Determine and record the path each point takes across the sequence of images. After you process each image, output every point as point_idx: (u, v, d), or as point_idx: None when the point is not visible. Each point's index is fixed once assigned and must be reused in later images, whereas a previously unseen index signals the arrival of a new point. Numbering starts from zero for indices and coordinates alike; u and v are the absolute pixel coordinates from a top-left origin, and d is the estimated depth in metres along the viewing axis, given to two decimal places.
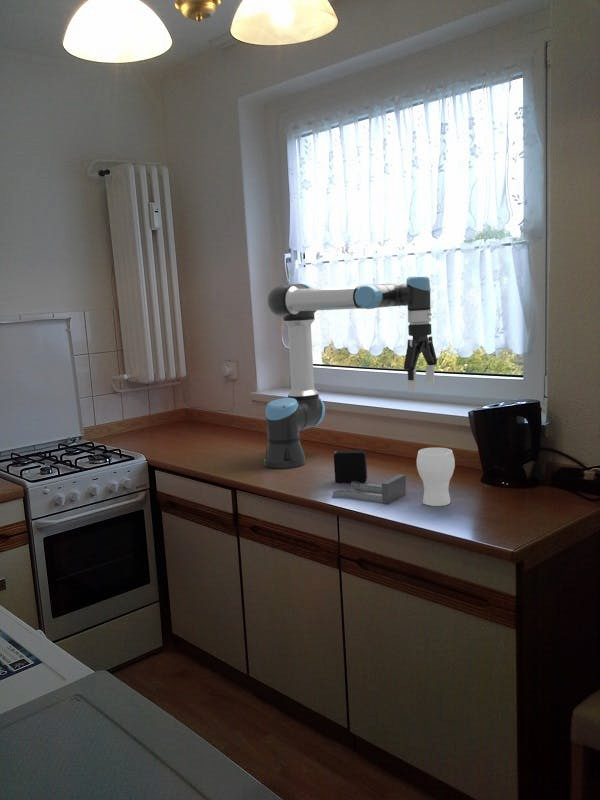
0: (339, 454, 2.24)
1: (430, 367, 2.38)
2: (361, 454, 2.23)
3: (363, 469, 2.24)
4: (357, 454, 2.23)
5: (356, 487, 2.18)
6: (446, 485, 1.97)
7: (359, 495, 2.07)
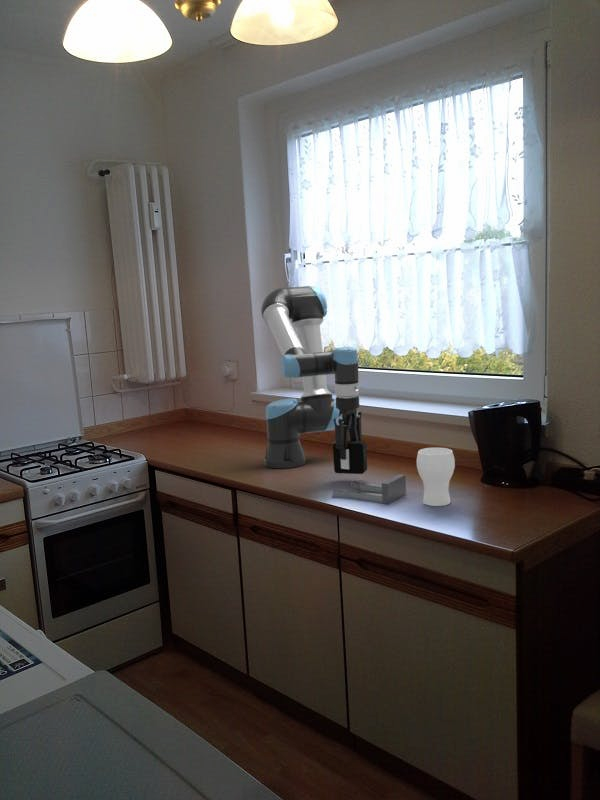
0: None
1: None
2: (359, 444, 2.23)
3: (361, 460, 2.23)
4: (355, 444, 2.23)
5: (356, 487, 2.18)
6: (446, 485, 1.97)
7: (359, 495, 2.07)
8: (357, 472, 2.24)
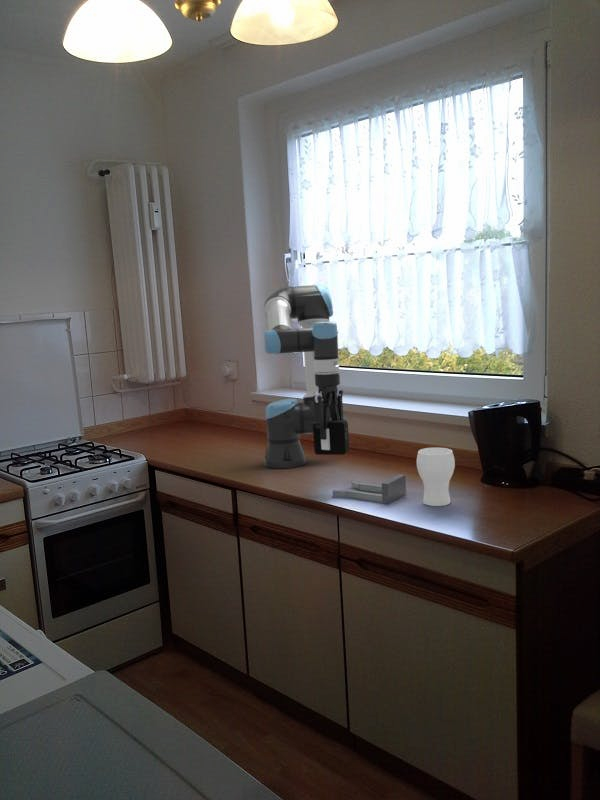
0: None
1: None
2: (340, 423, 2.12)
3: (342, 439, 2.12)
4: (336, 423, 2.12)
5: (356, 487, 2.18)
6: (446, 485, 1.97)
7: (359, 495, 2.07)
8: (338, 453, 2.13)
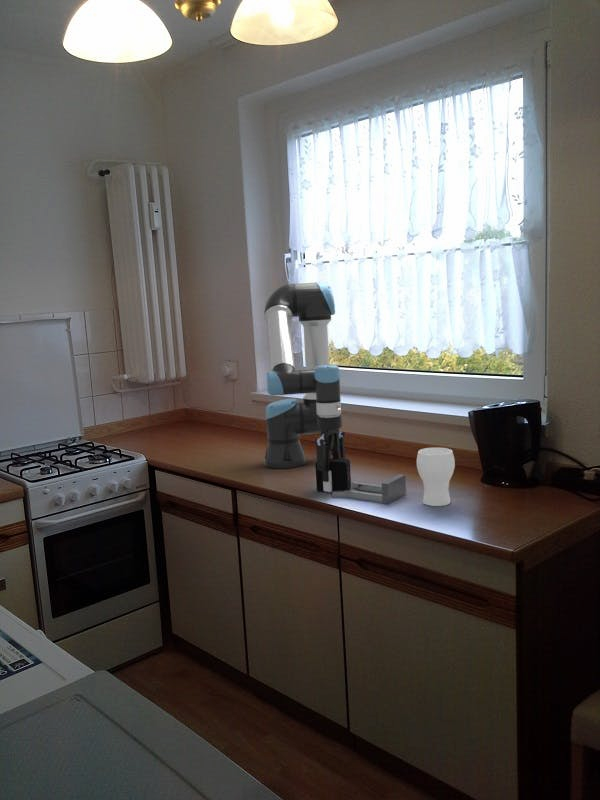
0: None
1: None
2: (343, 463, 2.13)
3: (345, 479, 2.14)
4: (339, 463, 2.14)
5: (356, 487, 2.18)
6: (446, 485, 1.97)
7: (359, 495, 2.07)
8: None
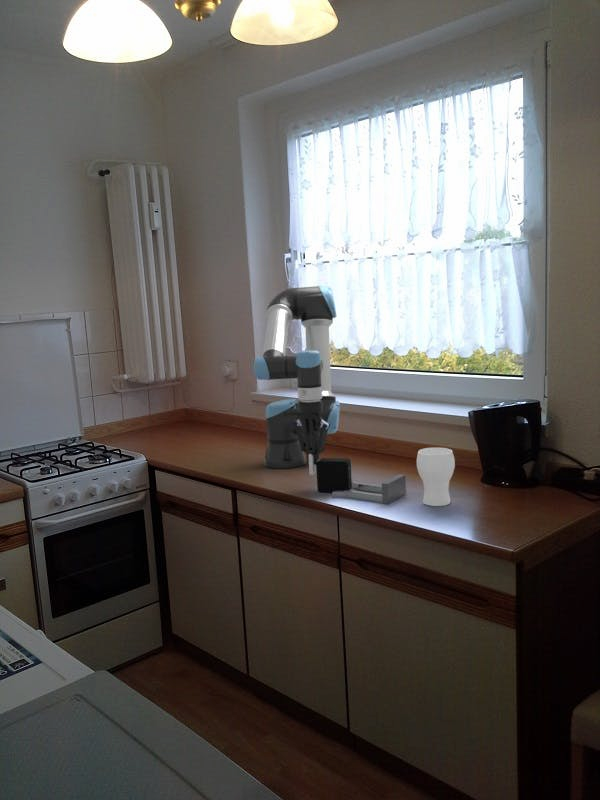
0: (321, 462, 2.15)
1: None
2: (344, 463, 2.13)
3: (346, 478, 2.13)
4: (340, 463, 2.13)
5: (356, 487, 2.18)
6: (446, 485, 1.97)
7: (359, 495, 2.07)
8: None
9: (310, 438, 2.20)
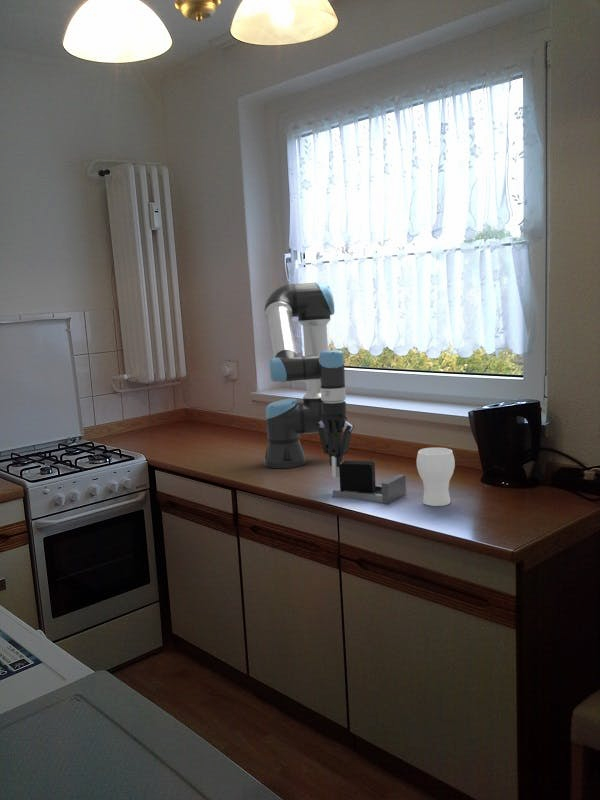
0: (345, 465, 2.10)
1: None
2: (368, 466, 2.08)
3: (370, 482, 2.08)
4: (363, 466, 2.08)
5: None
6: (446, 485, 1.97)
7: (359, 495, 2.07)
8: None
9: (333, 440, 2.15)
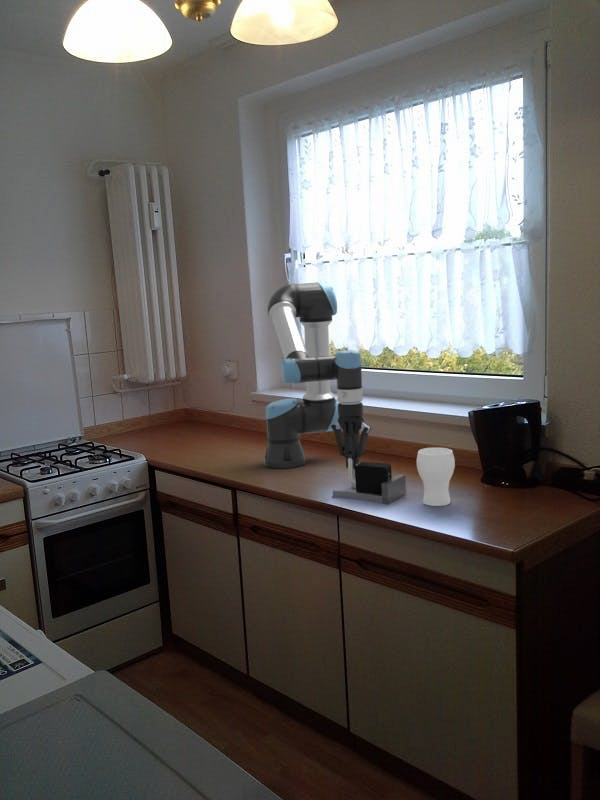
0: (360, 467, 2.07)
1: None
2: (382, 468, 2.03)
3: None
4: (378, 468, 2.04)
5: None
6: (446, 485, 1.97)
7: (359, 495, 2.07)
8: None
9: (349, 442, 2.12)
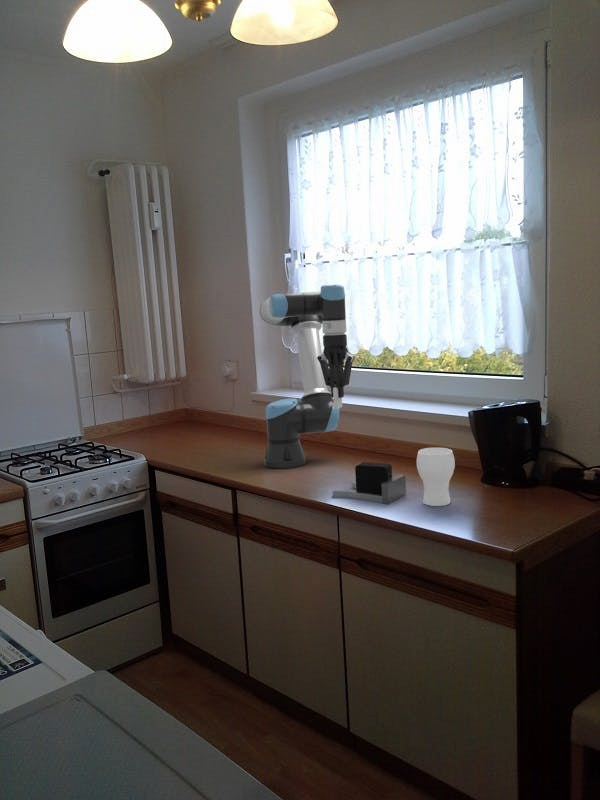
0: (360, 466, 2.07)
1: None
2: (383, 468, 2.04)
3: None
4: (379, 468, 2.04)
5: None
6: (446, 485, 1.97)
7: (359, 495, 2.07)
8: None
9: (334, 372, 2.23)
